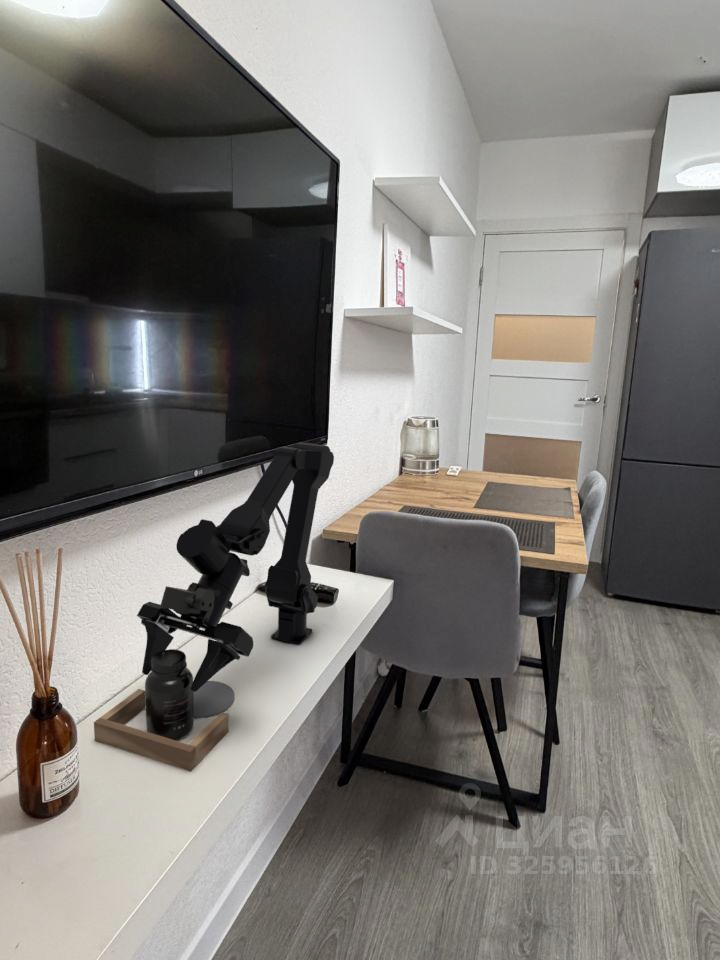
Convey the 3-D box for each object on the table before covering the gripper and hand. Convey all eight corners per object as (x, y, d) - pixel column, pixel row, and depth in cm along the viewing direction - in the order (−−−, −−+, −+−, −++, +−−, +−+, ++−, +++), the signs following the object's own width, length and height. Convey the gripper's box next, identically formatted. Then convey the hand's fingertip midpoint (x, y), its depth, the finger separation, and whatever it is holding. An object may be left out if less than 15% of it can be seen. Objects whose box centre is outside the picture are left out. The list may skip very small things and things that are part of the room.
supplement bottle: (139, 726, 90) (136, 653, 88) (182, 710, 94) (181, 641, 92) (157, 750, 85) (154, 673, 82) (201, 732, 89) (201, 659, 87)
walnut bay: (139, 705, 95) (138, 688, 94) (228, 731, 90) (228, 713, 89) (94, 740, 86) (93, 722, 86) (190, 771, 81) (190, 751, 80)
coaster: (195, 678, 104) (195, 675, 104) (246, 691, 100) (246, 688, 100) (158, 709, 94) (158, 706, 94) (212, 724, 91) (212, 721, 91)
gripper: (144, 552, 93) (88, 647, 85) (243, 576, 86) (192, 681, 78) (179, 584, 102) (132, 672, 94) (272, 607, 94) (228, 705, 87)
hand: (168, 682), depth 88 cm, fingers open, 9 cm apart
